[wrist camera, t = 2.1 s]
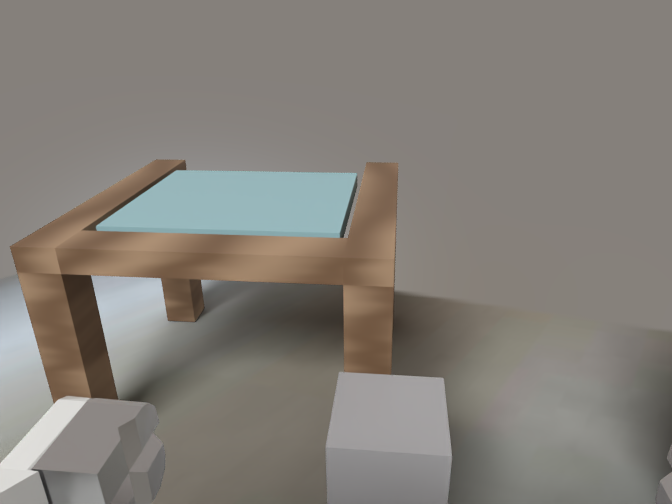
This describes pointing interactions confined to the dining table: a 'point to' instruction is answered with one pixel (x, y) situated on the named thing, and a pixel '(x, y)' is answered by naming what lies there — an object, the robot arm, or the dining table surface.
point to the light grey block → (388, 441)
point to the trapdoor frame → (199, 275)
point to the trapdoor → (241, 204)
